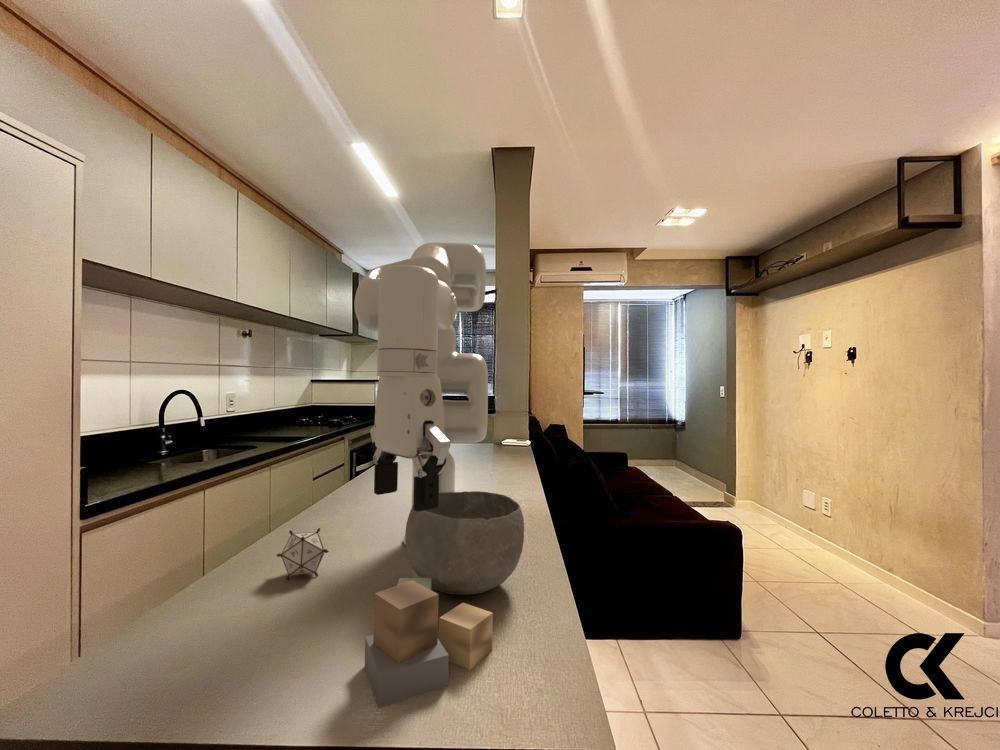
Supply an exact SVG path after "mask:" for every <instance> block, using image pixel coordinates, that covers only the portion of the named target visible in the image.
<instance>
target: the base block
mask: <svg viewBox="0 0 1000 750" xmlns="http://www.w3.org/2000/svg"><path fill="white" fill-rule="evenodd" d="M373 635H374V634H372V635H366V636H364V637H365V638H364V669H365V671H366V675H367V677H368V680H369V683H370V686H371V690H372V693H373V696H374V697H375V700H376V704H377V707H378V709H380V708H383V707H386V706H390V705H393V704H397V703H399V702H402V701H406V700H408V699H412V698H415V697H418V696H421V695H422V696H423V695H425V694H428V693H431V692H434V691H437V690H441V689H444V688H447V687H449V662H450V661H449V655H448V653H447V652H446V650H445V649H444V647H443V646H442V644H441V643H440V641H439V638H438V639H437V645H435V646H433V647H431V648H429V649H427V650H425V651H423V652H421V653H419V654H417V655H415V656H413V657H411V658H409V659H407V660H404V661H402V662H400V663H397V662H396V661H395V660H394V659H392V658H391V657H390V656H389V655H387V654H386V653H385V652H384V651H382V650H381V649H380V648H379V647H377V646H376V645H375V644H373Z"/></svg>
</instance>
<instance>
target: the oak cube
mask: <svg viewBox="0 0 1000 750" xmlns="http://www.w3.org/2000/svg"><path fill="white" fill-rule="evenodd" d="M493 613H494V612H491V611H489V610H485V609H483V608H480V607H478V606H477V607H476V606H474V605H471V604H469V603H466V602H461V603H460V604H458V605H456V606H455V607H453V608H452V609H450V610H448V611H447V612H446V613H444V614H442V615H441V616H440V617H438V631H439V632H438V640H439V641H440V643H441V644H442V646H443V647H444V649H445V650H446V652H447V653H448V655H449V662H450V663H451V662H452V663H453V664H455V665H457V666H460V667H462V668H465V669H467V670H472V668H474V666H476V665H477V664H478V663H480V661H482V660H483V659H484V658H486V656H487V655H488V654H489V653H491V652H492V651H493V622H494V621H493V617H494V615H493Z"/></svg>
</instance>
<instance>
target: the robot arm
mask: <svg viewBox="0 0 1000 750" xmlns="http://www.w3.org/2000/svg"><path fill="white" fill-rule="evenodd" d="M486 280H487V264H486V260H485V256H484V253H483V252H482V250H481V248H480V247H478V246H477V245H475V244H473V243H457V242H456V243H455V242H427V243H423V244H421V245H419V246H418V247H417V248H416V249H415V250H414V252H413V253H412V255H411V256H410V258H405V259H402V260H399V261H394V262H391V263H387V264H383V265H379V266H377V267H375V268H372V269H370V270H369V271H368V272H367V273H366V274H365V275H364V276H363V278H362V279H361V281H360V282H359V284H358V287H357V289H356V292H355V297H354V313H355V316H356V319H357V321H358V322H359V324H360V325H361V327H363V328H364V329H366V330H368V331H371V332H377V351H376V352H377V355H376V357H377V360H376V362H377V363H376V377H378V383H377V389H376V390H377V391H376V398H375V399H376V400H375V407H374V408H375V410H374V425H373V426H372V427H371V428H370V430H369V432H370V437H371V441H372V442H371V449H372V452H373V456H372V462H373V463H374V469H373V470H374V475H373V477H374V478H373V479H374V480H373V481H374V482H373V493H374V494H375V495H377V496H379V495H385V494H392V493H396V492H397V491H398V481H399V477H398V474H399V469H398V468H399V462H398V461H396V459H397V457H401V458H404V459H409V460H412V468H411V469H412V475H411V477H412V479H411V507H412V506H413V509H414V510H415V511H417V512H419V511H424V510H428V509H433V508H437V507H438V504H439V493H441V492H456V490H455V488H456V487H455V486H456V485H455V484H456V463H455V462H456V461H455V458H454V457H453V455H452V454H451V452H450V451H449V450H450V448H451V443H452V444H453V443H456V444H458V443H460V444H461V443H462V444H473V443H475V444H476V443H479V442H483V440H485V438H486V436H487V432H488V418H489V417H488V415H489V413H488V411H489V409H488V408H489V397H488V396H489V375H488V374H489V373H488V365H487V362H486V360H485V358H484V357H483V356H482V355H480V354H477V353H473V352H457V350H456V349H457V348H456V344H457V333H456V329H455V327H454V326H453V324H454V322H455V321H456V320H457V319H456V318H457V316H458V315H457V314H458V312H462V313H463V312H464V313H465V312H467V313H471V312H478V311H479V310H480V309H482V307H483V305H484V302H485V299H486V283H487V281H486ZM443 395H462V396H466V397H467V398H468V400H451V399H443ZM403 544H404V545H405V546H406V543H405V535H404V536H403Z"/></svg>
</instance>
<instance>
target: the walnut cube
mask: <svg viewBox="0 0 1000 750" xmlns="http://www.w3.org/2000/svg"><path fill="white" fill-rule="evenodd" d="M439 595H440V594H439V593H437V592H435V591H433V589H431V590H430V589H428V588H426V587H424V586H422V585H421V584H419V583H417V582H415V581H413V580H411V581H408V582H406V583H403V584H400V585H394V586H392V587H388V588H386V589H382V590H381V591H377V592H375V593H374V602H373V603H374V605H373V607H374V608H373V634H372V635H373V644H375V645H376V646H377V647H379V648H380V649H381V650H382V651H384V652H385V653H386V654H387V655H389V656H390V657H391V658H392V659H394V660H395V661H396V662H397V663H400V662H402V661H404V660H407V659H409V658H411V657H413V656H415V655H417V654H419V653H421V652H423V651H425V650H427V649H429V648H431V647H433V646H435V645H437V639H438V640H439V632H438V631H439V599H440V598H439Z"/></svg>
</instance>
